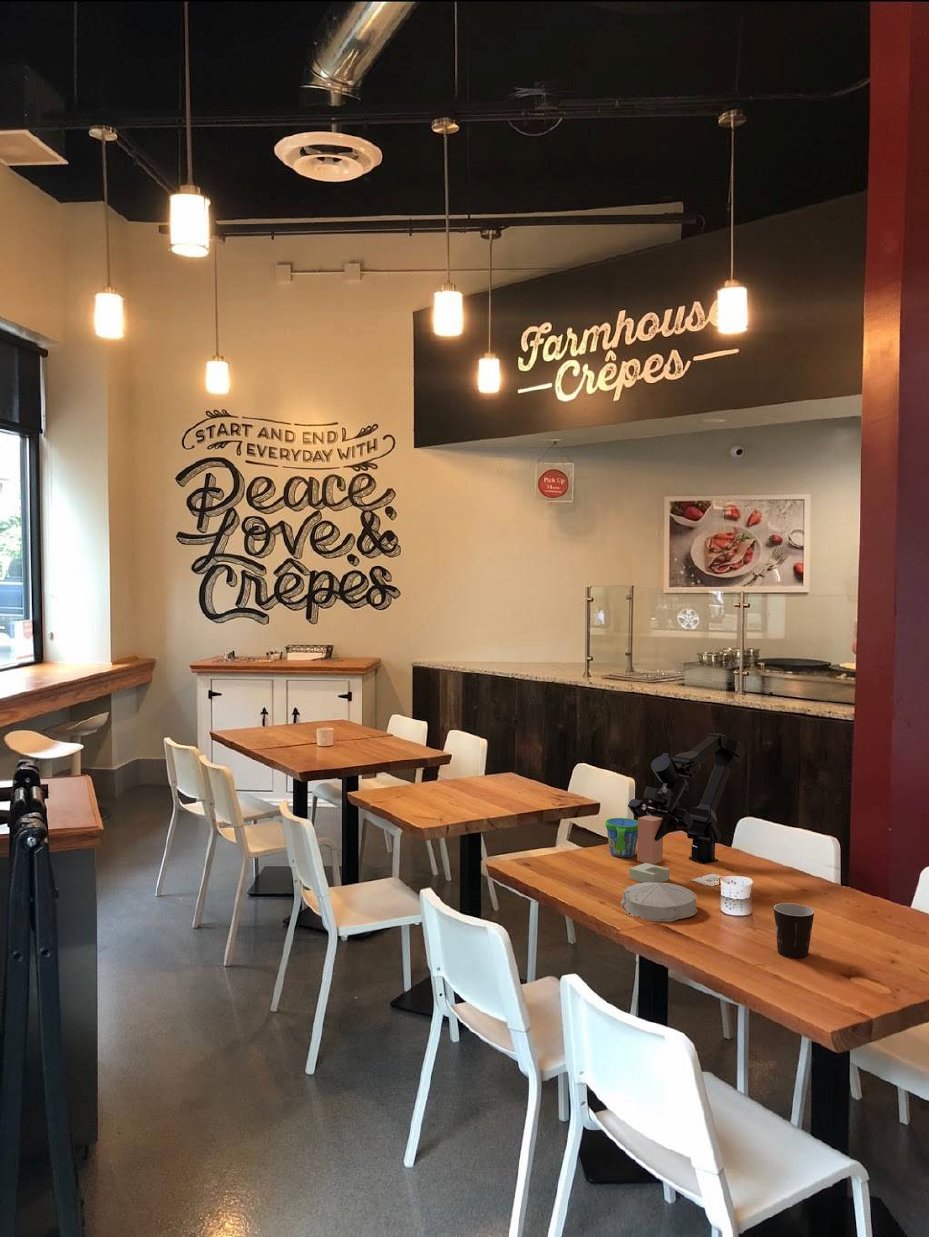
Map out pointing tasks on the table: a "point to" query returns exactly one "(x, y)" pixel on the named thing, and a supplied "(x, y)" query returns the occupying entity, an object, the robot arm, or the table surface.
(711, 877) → the page
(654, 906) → the grey round stone disc
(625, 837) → the snack cup
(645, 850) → the tall brick
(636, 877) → the base brick
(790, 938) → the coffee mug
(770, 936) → the table surface
